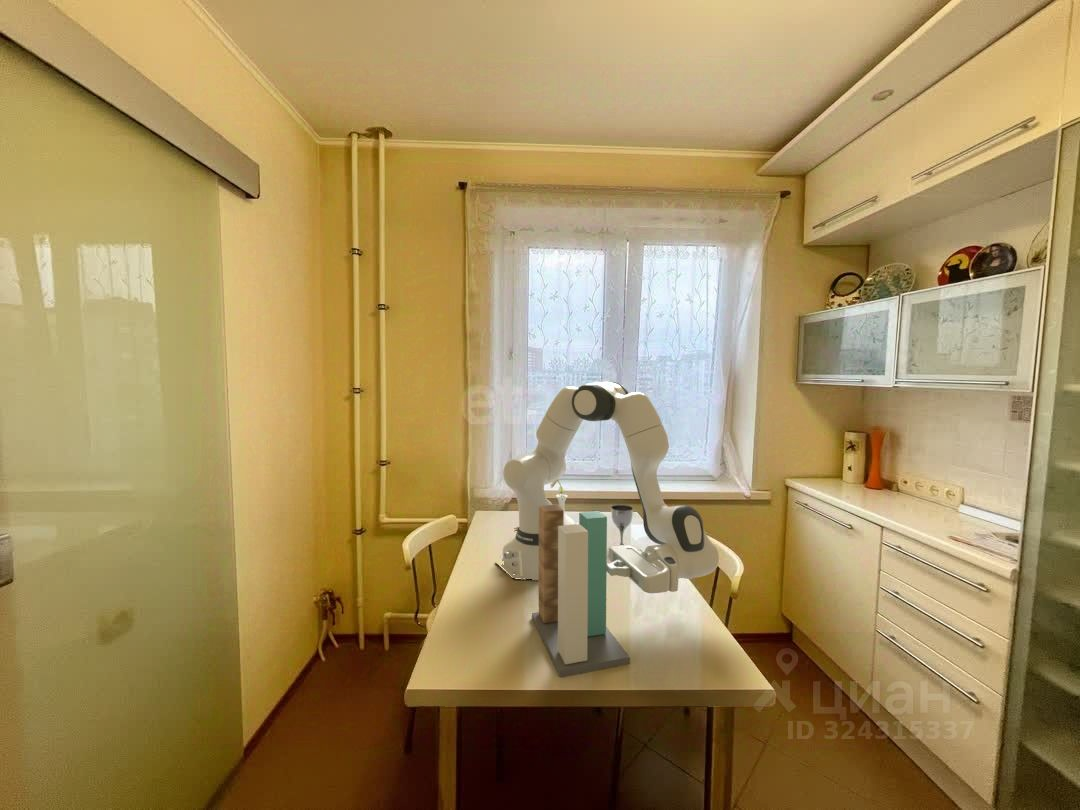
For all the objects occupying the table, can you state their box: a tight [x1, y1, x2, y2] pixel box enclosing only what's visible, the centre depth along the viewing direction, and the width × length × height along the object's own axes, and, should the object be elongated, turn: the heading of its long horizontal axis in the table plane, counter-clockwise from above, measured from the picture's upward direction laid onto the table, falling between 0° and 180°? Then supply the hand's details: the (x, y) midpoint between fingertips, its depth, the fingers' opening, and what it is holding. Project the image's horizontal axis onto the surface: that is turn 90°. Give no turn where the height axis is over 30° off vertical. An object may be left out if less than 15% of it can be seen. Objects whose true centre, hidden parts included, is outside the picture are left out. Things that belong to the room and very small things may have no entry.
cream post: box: [558, 523, 588, 665], centre depth 91 cm, size 5×5×28 cm
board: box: [531, 611, 631, 678], centre depth 101 cm, size 16×23×2 cm
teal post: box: [578, 510, 608, 637], centre depth 101 cm, size 5×5×28 cm
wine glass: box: [610, 504, 634, 545], centre depth 159 cm, size 8×8×15 cm
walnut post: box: [538, 504, 565, 623], centre depth 107 cm, size 5×5×28 cm
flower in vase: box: [550, 478, 576, 525], centre depth 179 cm, size 13×11×25 cm
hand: (607, 569), depth 103 cm, fingers closed
